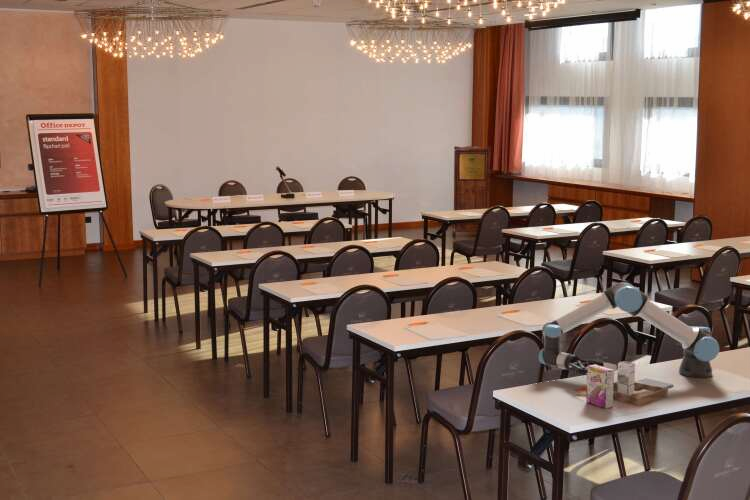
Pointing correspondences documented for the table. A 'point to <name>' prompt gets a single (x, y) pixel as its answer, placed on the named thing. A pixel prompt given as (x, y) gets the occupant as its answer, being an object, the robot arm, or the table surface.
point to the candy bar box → (600, 386)
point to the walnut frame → (656, 394)
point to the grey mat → (656, 383)
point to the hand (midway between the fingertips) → (607, 370)
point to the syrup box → (626, 377)
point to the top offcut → (641, 393)
